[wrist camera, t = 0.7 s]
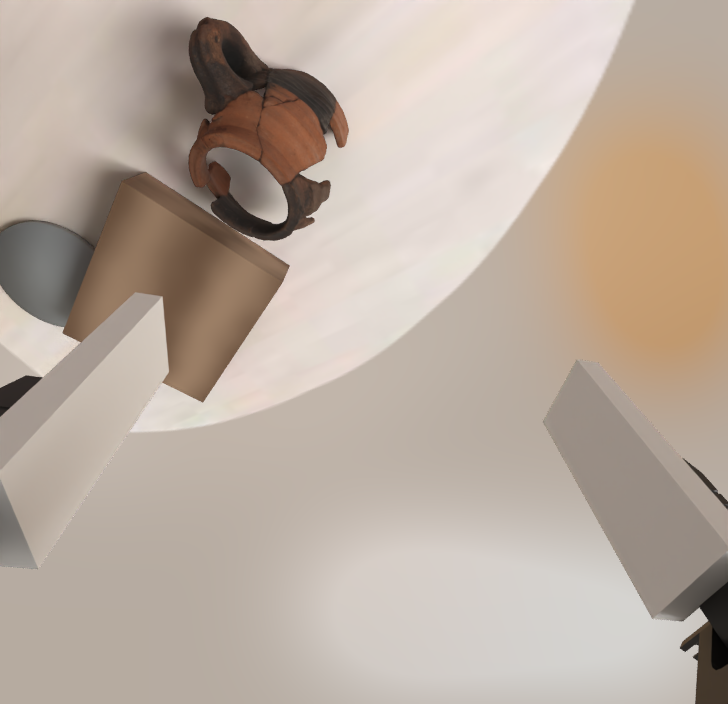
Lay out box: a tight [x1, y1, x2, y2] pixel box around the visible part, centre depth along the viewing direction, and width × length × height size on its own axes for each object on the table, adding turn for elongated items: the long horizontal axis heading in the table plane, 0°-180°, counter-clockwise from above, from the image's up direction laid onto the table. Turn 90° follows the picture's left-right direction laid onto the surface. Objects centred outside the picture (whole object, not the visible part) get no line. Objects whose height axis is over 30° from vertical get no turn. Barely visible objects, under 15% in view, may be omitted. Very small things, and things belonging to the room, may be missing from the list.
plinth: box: [63, 172, 289, 402], centre depth 33 cm, size 12×14×4 cm
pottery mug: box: [189, 17, 349, 241], centre depth 26 cm, size 12×9×8 cm
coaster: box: [0, 221, 95, 327], centre depth 34 cm, size 9×9×1 cm
